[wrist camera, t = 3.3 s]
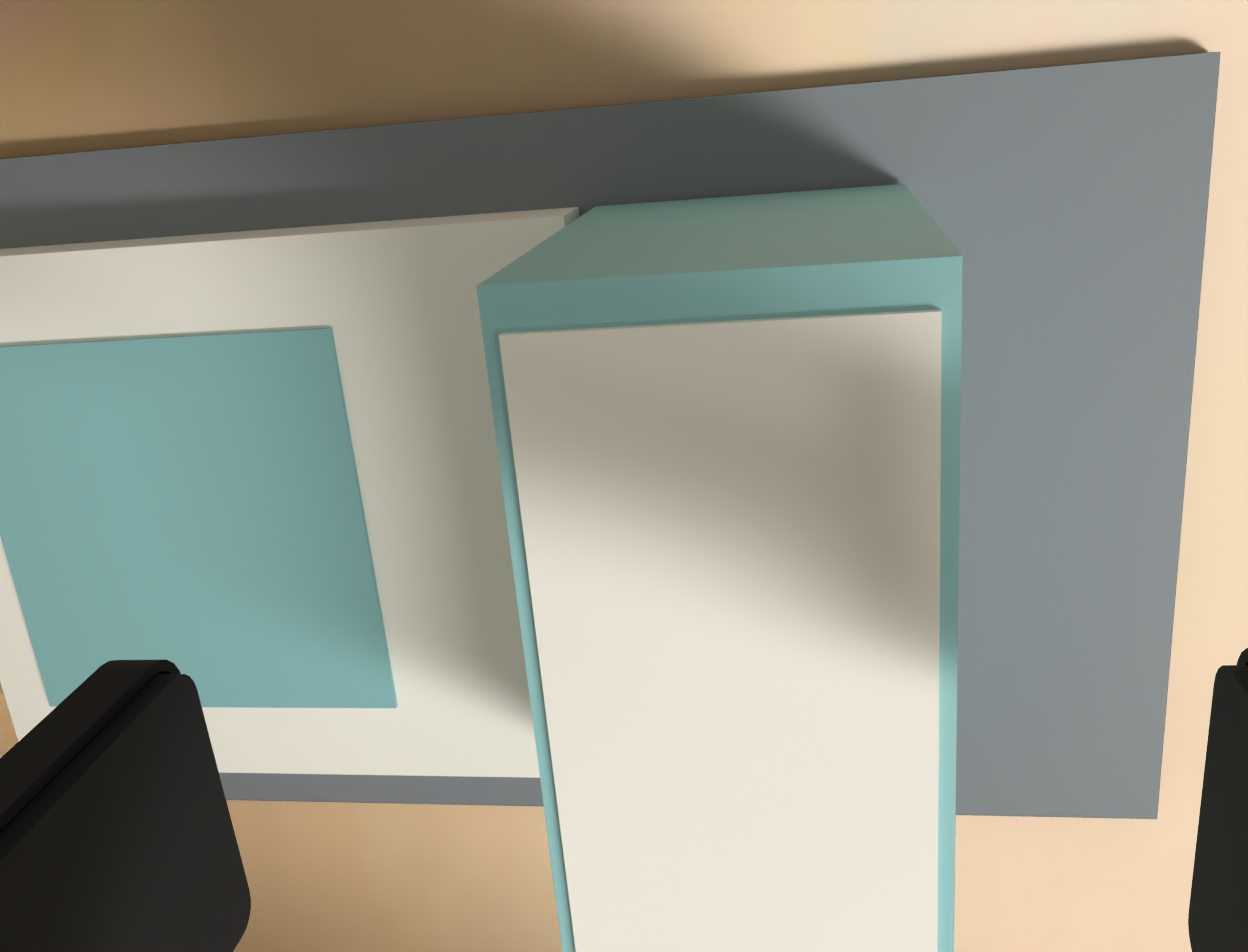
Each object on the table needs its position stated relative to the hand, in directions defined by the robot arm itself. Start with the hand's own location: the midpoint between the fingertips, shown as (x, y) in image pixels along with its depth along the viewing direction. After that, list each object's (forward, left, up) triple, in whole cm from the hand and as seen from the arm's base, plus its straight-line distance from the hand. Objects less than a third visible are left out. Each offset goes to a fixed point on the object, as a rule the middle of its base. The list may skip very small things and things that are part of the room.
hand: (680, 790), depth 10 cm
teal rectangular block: (0, +1, -10) cm, 10 cm away
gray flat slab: (+4, +1, -10) cm, 11 cm away
